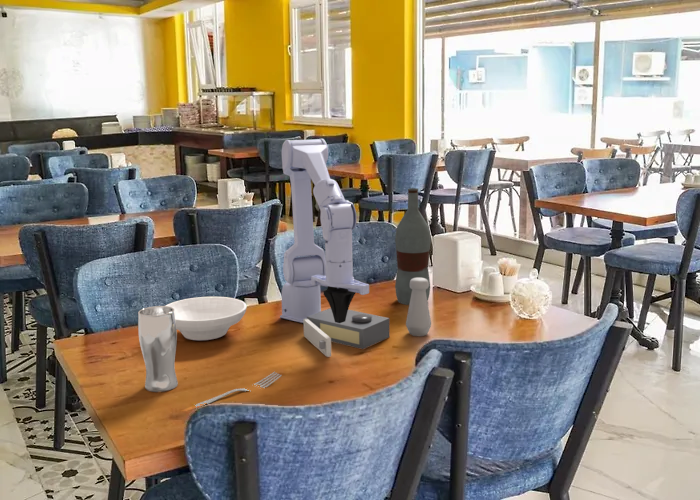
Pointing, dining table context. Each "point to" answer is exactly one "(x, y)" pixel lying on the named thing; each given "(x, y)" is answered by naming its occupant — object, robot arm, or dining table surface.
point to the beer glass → (158, 347)
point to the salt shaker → (418, 308)
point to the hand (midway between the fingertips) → (340, 321)
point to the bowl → (207, 316)
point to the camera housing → (353, 328)
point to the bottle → (411, 249)
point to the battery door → (317, 337)
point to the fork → (243, 389)
